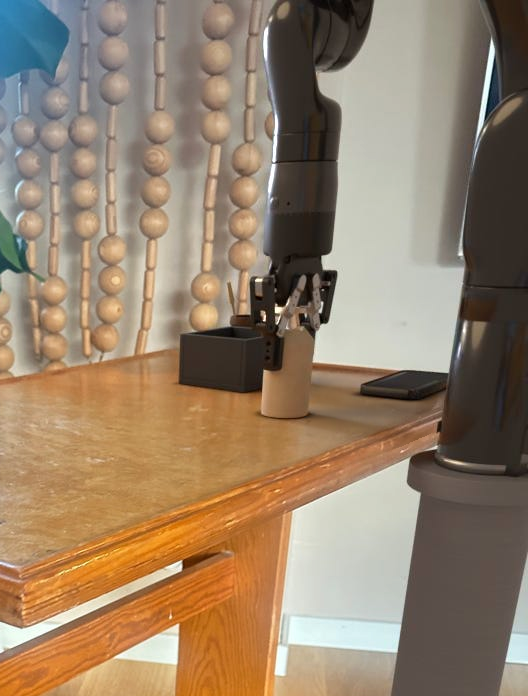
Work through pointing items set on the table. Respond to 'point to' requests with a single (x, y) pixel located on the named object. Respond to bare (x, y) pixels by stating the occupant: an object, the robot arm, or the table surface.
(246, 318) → the utensil holder
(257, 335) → the bin
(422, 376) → the phone
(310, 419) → the table surface
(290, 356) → the candle
